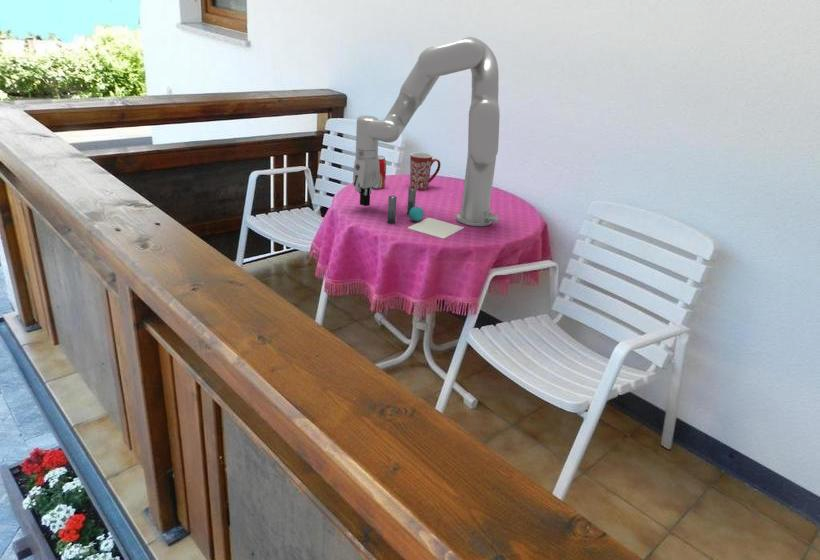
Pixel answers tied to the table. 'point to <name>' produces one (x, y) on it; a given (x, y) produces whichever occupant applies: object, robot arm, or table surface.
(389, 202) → the post left
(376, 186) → the soda can
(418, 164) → the mug
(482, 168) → the robot arm
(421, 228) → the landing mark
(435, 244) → the table surface
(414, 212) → the ball
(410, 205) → the post right
